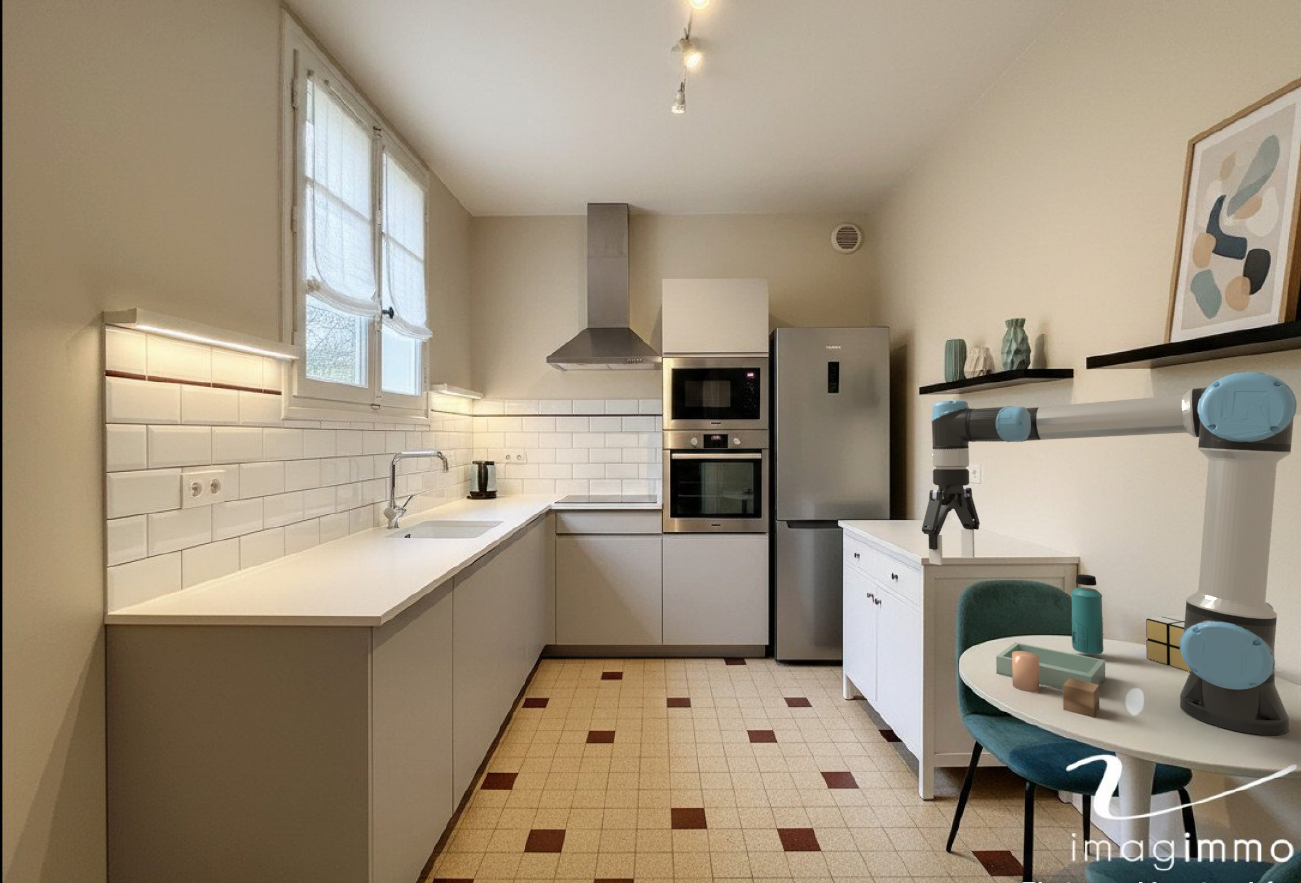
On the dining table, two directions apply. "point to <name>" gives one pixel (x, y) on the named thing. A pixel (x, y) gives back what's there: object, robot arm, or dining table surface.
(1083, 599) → the beverage bottle
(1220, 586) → the robot arm
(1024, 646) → the tray
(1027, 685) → the peach rounded smooth part
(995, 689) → the dining table surface
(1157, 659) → the puzzle cube
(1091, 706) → the walnut cube
